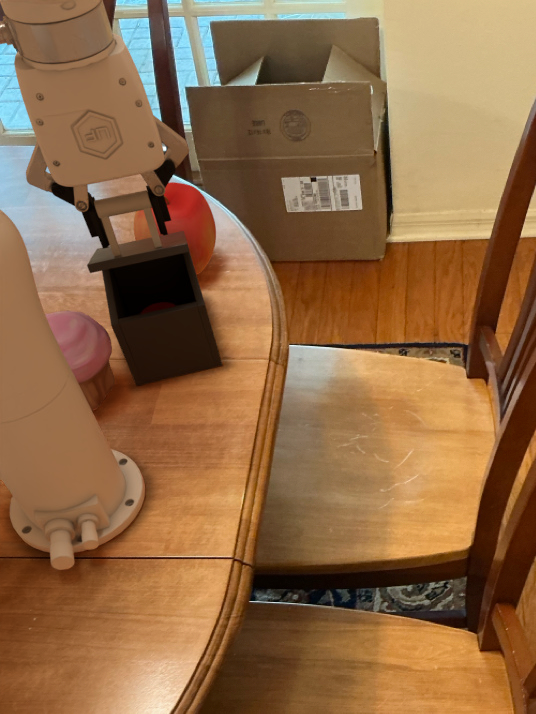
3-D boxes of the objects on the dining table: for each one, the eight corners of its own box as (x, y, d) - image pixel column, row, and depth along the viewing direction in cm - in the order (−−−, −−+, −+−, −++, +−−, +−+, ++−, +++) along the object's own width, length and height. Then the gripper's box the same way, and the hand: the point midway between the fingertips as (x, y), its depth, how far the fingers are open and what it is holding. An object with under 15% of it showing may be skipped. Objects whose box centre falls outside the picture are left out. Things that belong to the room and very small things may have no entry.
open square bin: (222, 365, 86) (205, 304, 79) (136, 386, 84) (111, 325, 78) (203, 299, 93) (185, 238, 86) (123, 317, 91) (99, 256, 85)
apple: (185, 239, 101) (164, 164, 92) (241, 261, 97) (224, 185, 89) (133, 278, 96) (106, 203, 88) (190, 302, 93) (167, 227, 85)
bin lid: (189, 251, 75) (171, 186, 72) (89, 273, 73) (66, 207, 70) (185, 238, 86) (169, 181, 83) (99, 256, 85) (79, 198, 82)
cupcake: (103, 432, 80) (67, 358, 72) (31, 417, 82) (-13, 343, 74) (143, 375, 85) (112, 300, 77) (74, 363, 87) (37, 288, 79)
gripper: (-48, 69, 58) (49, 275, 73) (175, 31, 61) (225, 236, 76) (-48, 30, 63) (44, 232, 77) (161, -4, 65) (211, 197, 80)
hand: (133, 232), depth 77 cm, fingers closed on bin lid, 5 cm apart
